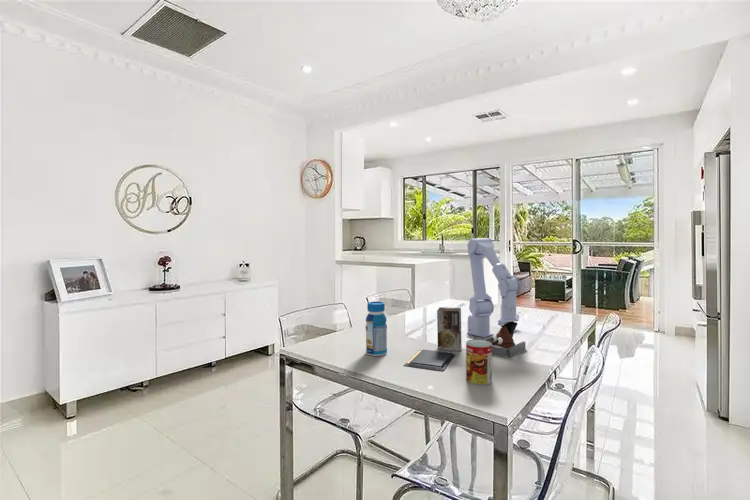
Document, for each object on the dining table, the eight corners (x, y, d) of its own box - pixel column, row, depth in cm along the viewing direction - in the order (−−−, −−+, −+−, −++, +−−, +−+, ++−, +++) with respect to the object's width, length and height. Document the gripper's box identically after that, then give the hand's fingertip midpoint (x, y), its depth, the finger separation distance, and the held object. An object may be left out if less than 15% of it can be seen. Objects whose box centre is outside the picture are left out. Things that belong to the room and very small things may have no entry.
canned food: (466, 374, 127) (466, 338, 126) (491, 376, 124) (491, 340, 124) (465, 383, 119) (465, 345, 118) (491, 386, 117) (491, 347, 116)
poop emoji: (520, 351, 150) (521, 327, 150) (502, 353, 148) (502, 329, 147) (504, 344, 160) (504, 322, 159) (487, 346, 157) (487, 324, 157)
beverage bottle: (383, 357, 145) (382, 305, 144) (362, 355, 148) (361, 304, 147) (390, 351, 153) (389, 301, 152) (370, 349, 155) (369, 300, 155)
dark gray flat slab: (443, 368, 129) (401, 362, 136) (443, 373, 129) (401, 367, 136) (457, 351, 147) (419, 346, 154) (457, 356, 147) (419, 351, 154)
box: (475, 349, 153) (475, 342, 153) (493, 342, 163) (493, 335, 162) (509, 357, 143) (509, 349, 143) (525, 349, 153) (525, 341, 152)
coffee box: (461, 346, 157) (461, 307, 156) (460, 351, 151) (459, 310, 150) (439, 344, 160) (439, 306, 159) (437, 349, 154) (436, 309, 153)
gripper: (509, 311, 149) (509, 345, 150) (526, 305, 159) (525, 338, 160) (493, 308, 154) (493, 342, 155) (509, 303, 164) (509, 335, 165)
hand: (508, 339), depth 157 cm, fingers closed
